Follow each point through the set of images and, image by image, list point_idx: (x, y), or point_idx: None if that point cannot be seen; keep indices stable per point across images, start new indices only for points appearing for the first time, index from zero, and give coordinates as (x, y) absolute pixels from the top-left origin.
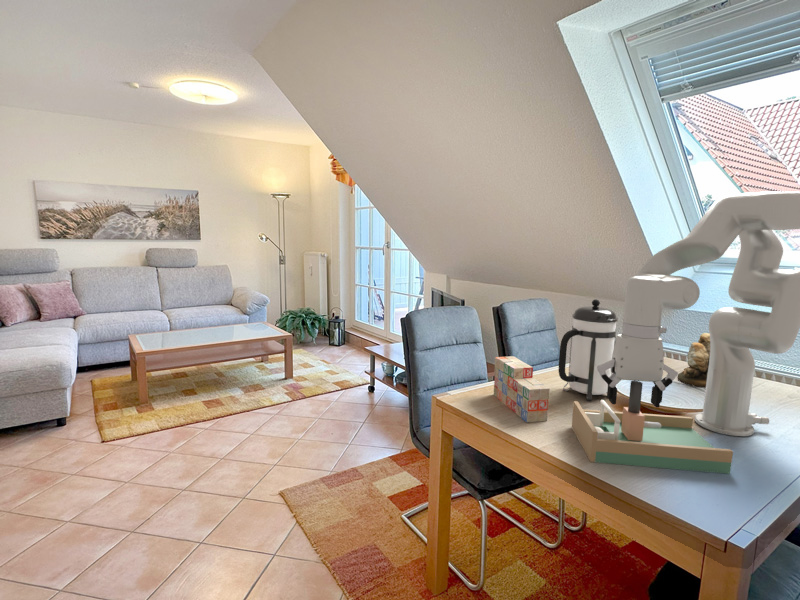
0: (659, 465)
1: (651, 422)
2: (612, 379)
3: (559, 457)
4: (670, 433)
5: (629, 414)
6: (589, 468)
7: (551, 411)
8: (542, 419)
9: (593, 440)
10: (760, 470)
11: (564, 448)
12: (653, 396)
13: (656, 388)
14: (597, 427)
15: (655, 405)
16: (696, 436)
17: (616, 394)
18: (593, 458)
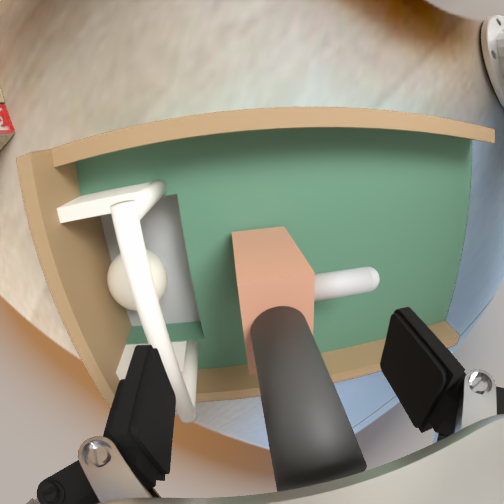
0: None
1: (347, 291)
2: (121, 483)
3: (75, 354)
4: (407, 194)
5: (247, 361)
6: None
7: (38, 40)
8: (1, 145)
9: None
10: (481, 277)
11: None
12: (408, 364)
13: (434, 416)
14: (131, 297)
15: (382, 367)
16: (460, 201)
17: (170, 445)
18: None
